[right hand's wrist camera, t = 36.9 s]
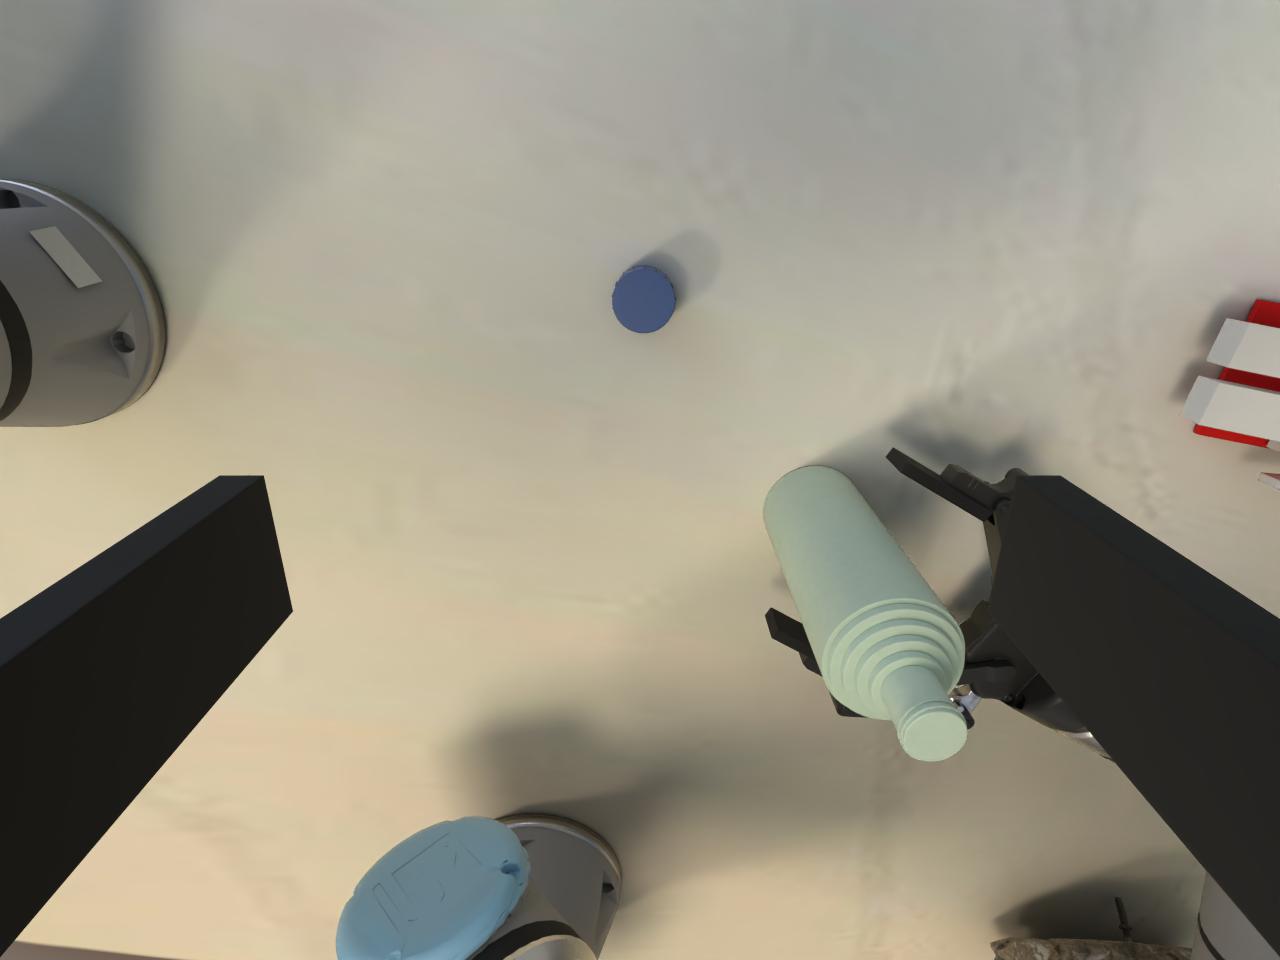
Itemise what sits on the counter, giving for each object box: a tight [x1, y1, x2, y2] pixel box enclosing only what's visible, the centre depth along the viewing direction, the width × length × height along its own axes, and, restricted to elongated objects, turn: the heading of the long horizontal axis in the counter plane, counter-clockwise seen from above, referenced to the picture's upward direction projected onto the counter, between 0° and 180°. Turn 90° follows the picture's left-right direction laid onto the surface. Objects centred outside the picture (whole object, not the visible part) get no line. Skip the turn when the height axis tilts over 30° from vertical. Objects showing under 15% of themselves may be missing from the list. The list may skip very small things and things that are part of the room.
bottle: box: [763, 466, 968, 762], centre depth 40 cm, size 7×7×23 cm
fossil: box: [990, 897, 1192, 960], centre depth 63 cm, size 22×10×15 cm
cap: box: [612, 265, 676, 333], centre depth 44 cm, size 4×4×2 cm
